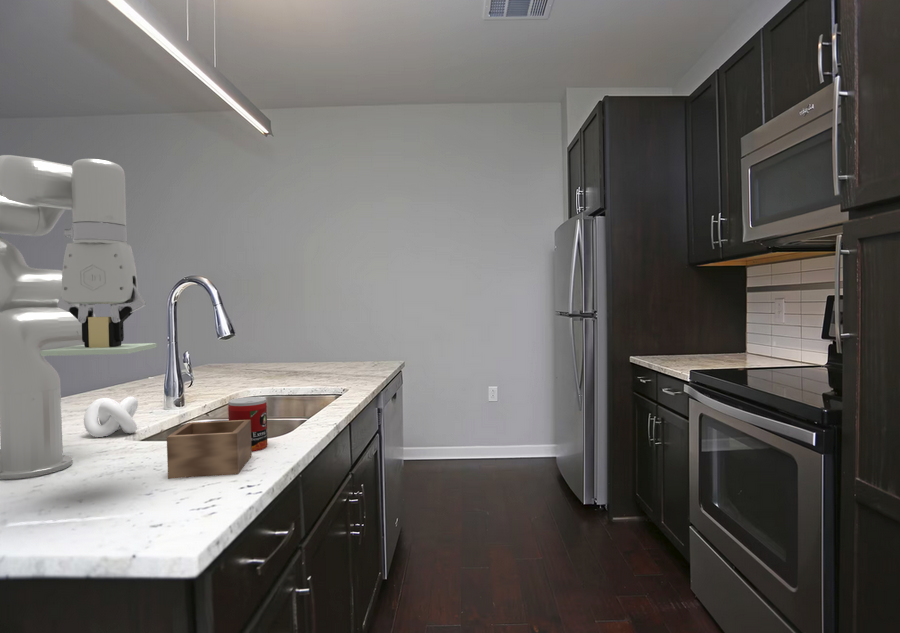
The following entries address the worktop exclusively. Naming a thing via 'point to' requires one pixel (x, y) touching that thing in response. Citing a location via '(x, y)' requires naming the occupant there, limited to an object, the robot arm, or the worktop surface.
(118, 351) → the lid
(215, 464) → the box
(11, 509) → the worktop surface
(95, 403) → the white knot sculpture
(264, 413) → the canned food
